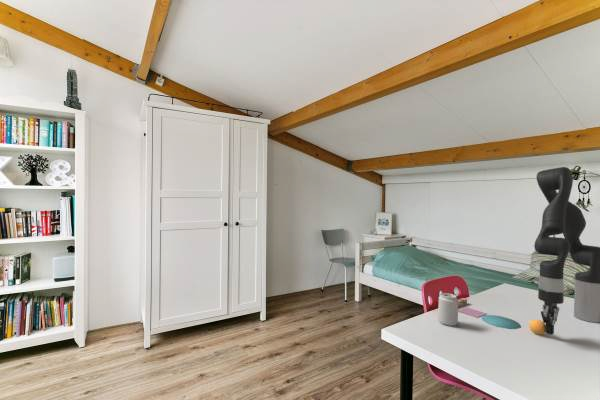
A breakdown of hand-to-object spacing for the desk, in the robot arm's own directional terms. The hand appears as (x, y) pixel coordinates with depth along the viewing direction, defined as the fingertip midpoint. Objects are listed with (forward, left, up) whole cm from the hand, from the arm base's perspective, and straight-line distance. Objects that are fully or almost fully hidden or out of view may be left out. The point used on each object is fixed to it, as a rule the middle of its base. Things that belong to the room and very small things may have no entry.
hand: (549, 333), depth 116 cm
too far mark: (0, -29, -2) cm, 29 cm away
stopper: (0, -38, -2) cm, 38 cm away
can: (+22, -28, -2) cm, 36 cm away
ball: (0, -4, +1) cm, 4 cm away
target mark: (0, -17, -2) cm, 17 cm away
